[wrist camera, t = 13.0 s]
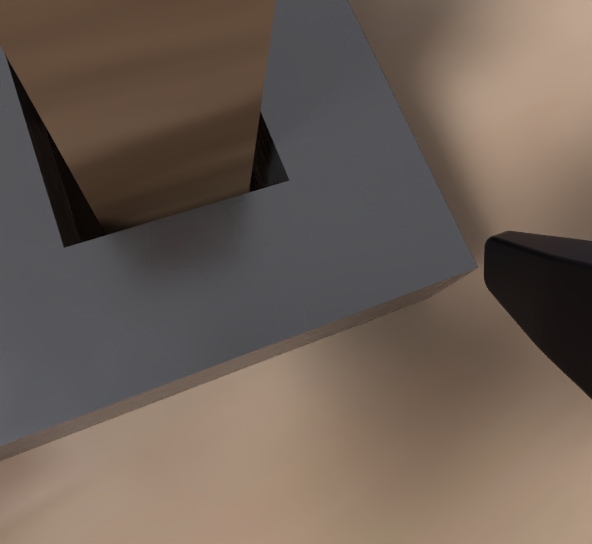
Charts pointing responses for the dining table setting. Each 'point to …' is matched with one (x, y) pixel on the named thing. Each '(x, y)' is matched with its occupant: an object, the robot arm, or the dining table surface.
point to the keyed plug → (145, 96)
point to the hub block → (218, 244)
